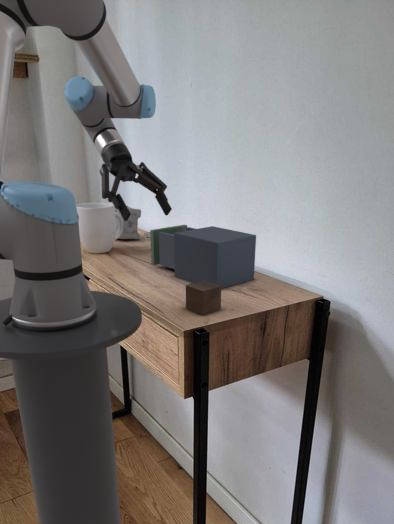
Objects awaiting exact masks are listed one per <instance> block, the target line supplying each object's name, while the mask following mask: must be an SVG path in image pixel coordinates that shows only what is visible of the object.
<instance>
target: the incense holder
mask: <svg viewBox="0 0 394 524" xmlns="http://www.w3.org/2000/svg"><path fill="white" fill-rule="evenodd" d="M126 206H127V208H128V210H129V212H130V213H131V215H130V217H129V218H128V220H127V221H124V219H123V217H122V215H121V213H120V212H119V210H118V209H116V208H115V212H117V213H118V214H119V215H120V216H121V218H122V220H123V230H122V233H121V235H120V237H119V238H118V239H119V240H140V237H141V236H140V234H139V232H138V227H139V219H140V218H141V216H142V210H141V208H133V207H131V206H129V205H126ZM114 207H115V206H114ZM115 220H116V228H115V229H116V231H115V235H116V234H117V231H118V227H119V223H118V218H117V217H116V216H115Z"/></svg>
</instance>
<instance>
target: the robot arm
mask: <svg viewBox="0 0 394 524" xmlns="http://www.w3.org/2000/svg"><path fill="white" fill-rule="evenodd" d="M107 12H108V11H107V6H106V3H105V1H104V0H0V260H7V261H11V262H12V268H13V272H14V285H13V291H12V295H11V296H12V297H11V298H12V301H11V307H10V316H9V317H7V318H6V319H5V320H4V321H3V322H2V323H3V324H4V325H5V326H7V325H8V324H9V323H10V322H11V323H12V324H13V325H14V326H15V327H17V328H19V329H22V330H26V331H32V332H56V331H63V330H69V329H73V328H77V327H80V326H83V325H85V324H87V323H89V322H91V321H92V320H93V319H94V318H95V317H96V316H97V308H96V303H95V300H94V298H93V295H92V293H91V291H92V290H91V288H90V286H89V284H88V282H87V280H86V277H85V275H84V268H83V258H82V247H81V245H82V244H81V240H80V234H79V222H78V221H79V216H78V213H77V208H76V205H77V202H76V198H75V196H74V194H73V193H72V192H71V190H69V189H68V188H66V187H63V186H60V185H58V184H57V185H56V184H53V183H47V182H39V181H25V180H16V181H15V180H12V181H6V180H5V178H4V176H3V171H4V162H5V152H6V144H7V143H6V141H7V133H8V125H9V124H8V123H9V113H10V103H11V96H12V84H13V77H14V76H13V75H14V66H15V56H16V52H17V51H19V50H21V49H22V48H23V47H24V46H25V44H26V38H27V37H26V36H27V30H28V28H34V27H53V28H57V29H60V31H61V32H62V34H63V35H64V36H65V37H66V38H67V39H69V40H70V41H72V42H74V43H75V44H76V46H77V48H78V49H79V50H80V52H81V54H82V55H83V56H84V58H85V59H86V61H87V63H88V64H89V66H90V68H92V70H93V72H94V74H95V75H96V76H97V78H98V80H99V81H100V82H101V84H102V85H93V83H92V82H91V81H90V80H89V79H88V78H86V77H84V76H82V75H81V76H80V75H79V76H74V77H72V78H71V79H70V80H68V81H67V83H66V85H65V87H64V91H63V94H64V98H65V100H66V102H67V103H68V107H69V108H70V109H71V111H72V112H73V114H75V116H76V117H77V119H78V120H79V122H80V124H81V125H82V126H83V128H84V129H85V131H86V132H87V134H88V136H89V138H90V140H91V141H92V143H93V145H94V147H95V149H96V150H97V153H98V154H99V156H100V158H101V159H102V162H103V163H102V165H100V169H99V174H100V176H101V199H103V200H107V202H108V203H112V204H113V205H114V206H115V208H116V209H118V210H119V212H120V213H121V215H122V217H123V219H124V221H127V220H128V218H129V217H130V215H131V213H130V212H129V210H128V208H127V206H128V205H126V203H125V200H124V198H123V197H122V196H121V194H120V193H117V192H118V190H119V187H120V184H121V182H122V183H126V182H134V183H135V184H139V185H140V186H142V187H144V188H145V189H146V190H148V191H150V192H151V193H152V194H154V195H155V196H154V198H155V200H156V202H157V203H158V205H159V206H160V209H161V210H162V212H163V214H164V215H165V216H168V215H169V214H170V213H171V211H172V210H173V208H172V206H171V205H170V203H169V199H168V197H167V195H166V193H165V191H166V190H167V188H168V185H167V184H166V183H165V182H164V181H163V180H162V179H160V178H159V177H158V176H157V175H156V174H155V173H154V172H153V171H151V170H150V169H149V168H148V167H147V165H146V163H144V161H140V163H139V164H136V163H135V162H134V161H133V157H132V156H133V155H132V154H131V152H130V150H129V149H128V147H127V145H126V143H125V141H124V139H123V138H122V136H121V135H120V133H119V131H118V130H117V128H116V126H115V124H114V122H113V120H112V119H127V120H128V119H130V120H131V119H132V120H134V119H137V120H141V119H151V118H153V117H154V115H155V113H156V109H157V108H156V106H157V99H156V92H155V89H154V87H153V86H151V85H149V84H143V83H142V84H140V83H139V81H138V79H137V77H136V75H135V73H134V71H133V69H132V67H131V66H130V63H129V61H128V59H127V57H126V54H125V53H124V51H123V49H122V47H121V45H120V43H119V41H118V39H117V37H116V36H115V33H114V31H113V30H112V27H111V25H110V23H109V22H108V20H107V16H108V15H107V14H108V13H107ZM110 174H111V175H112V176H113V177H114V179H113V183H112V186H111V189H110Z"/></svg>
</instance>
